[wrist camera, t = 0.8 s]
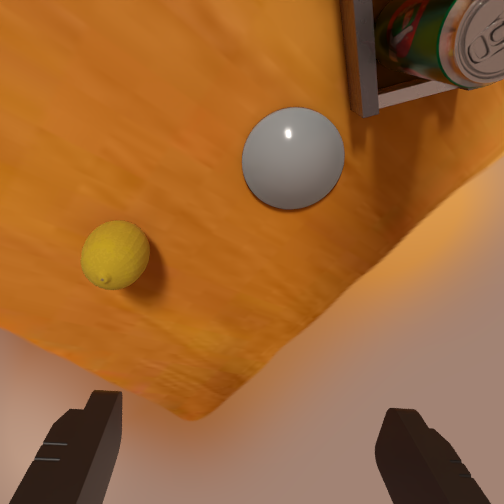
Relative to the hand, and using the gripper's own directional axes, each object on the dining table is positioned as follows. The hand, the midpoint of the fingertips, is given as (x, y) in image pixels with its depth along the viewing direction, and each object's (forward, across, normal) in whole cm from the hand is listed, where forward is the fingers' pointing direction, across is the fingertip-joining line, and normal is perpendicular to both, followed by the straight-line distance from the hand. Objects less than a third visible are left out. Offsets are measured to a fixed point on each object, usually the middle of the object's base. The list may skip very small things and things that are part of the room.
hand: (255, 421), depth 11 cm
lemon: (+26, +10, +4) cm, 29 cm away
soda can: (+23, -11, -16) cm, 30 cm away
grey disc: (+24, -4, -5) cm, 25 cm away
